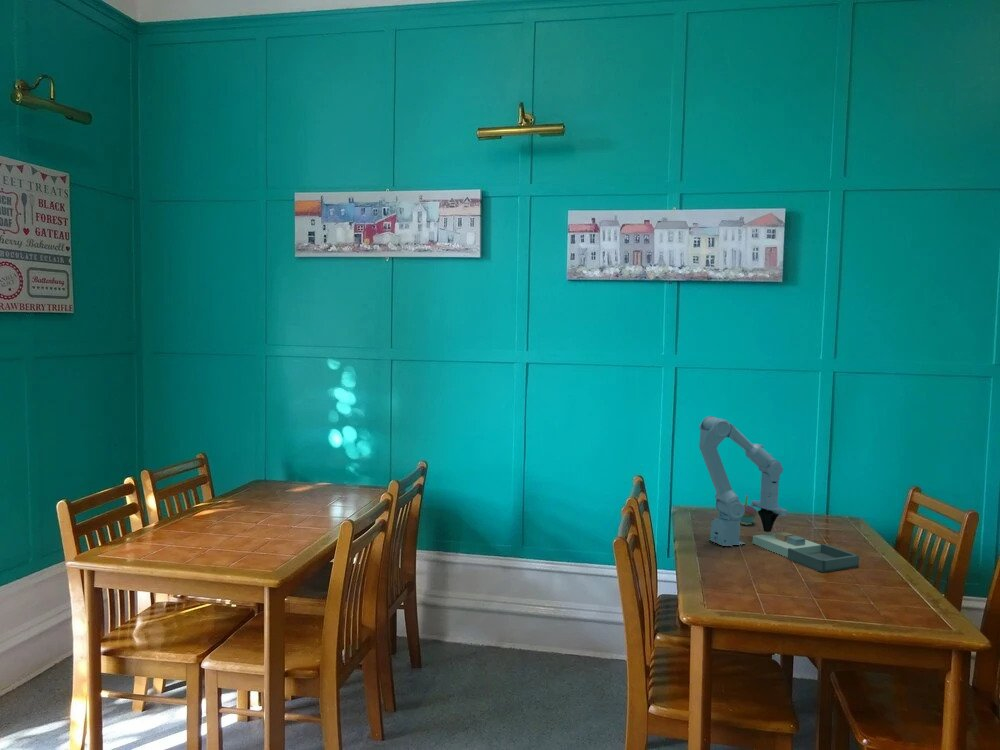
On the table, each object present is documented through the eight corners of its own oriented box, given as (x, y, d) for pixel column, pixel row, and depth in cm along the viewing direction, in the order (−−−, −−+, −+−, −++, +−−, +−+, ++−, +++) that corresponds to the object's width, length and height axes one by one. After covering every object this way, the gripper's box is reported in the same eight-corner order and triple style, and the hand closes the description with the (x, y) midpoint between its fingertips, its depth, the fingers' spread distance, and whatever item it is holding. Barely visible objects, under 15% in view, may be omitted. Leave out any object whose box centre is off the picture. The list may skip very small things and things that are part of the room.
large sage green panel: (788, 558, 228) (789, 549, 228) (752, 544, 243) (753, 535, 242) (820, 553, 234) (821, 545, 233) (783, 540, 248) (783, 532, 248)
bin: (822, 572, 215) (822, 561, 215) (787, 558, 227) (788, 548, 227) (858, 566, 221) (859, 555, 221) (822, 553, 234) (823, 543, 234)
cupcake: (758, 527, 265) (760, 495, 264) (734, 525, 266) (736, 494, 265) (753, 521, 273) (755, 490, 272) (731, 519, 274) (732, 489, 274)
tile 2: (796, 546, 232) (796, 540, 231) (786, 542, 235) (786, 536, 235) (805, 544, 233) (805, 538, 233) (795, 541, 237) (795, 535, 237)
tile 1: (784, 541, 236) (784, 535, 236) (775, 538, 240) (775, 532, 240) (793, 540, 238) (793, 534, 238) (784, 537, 241) (784, 531, 241)
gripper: (794, 496, 240) (792, 536, 241) (762, 487, 253) (760, 524, 254) (778, 498, 237) (776, 538, 238) (747, 488, 250) (745, 526, 251)
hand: (767, 531), depth 246 cm, fingers closed
